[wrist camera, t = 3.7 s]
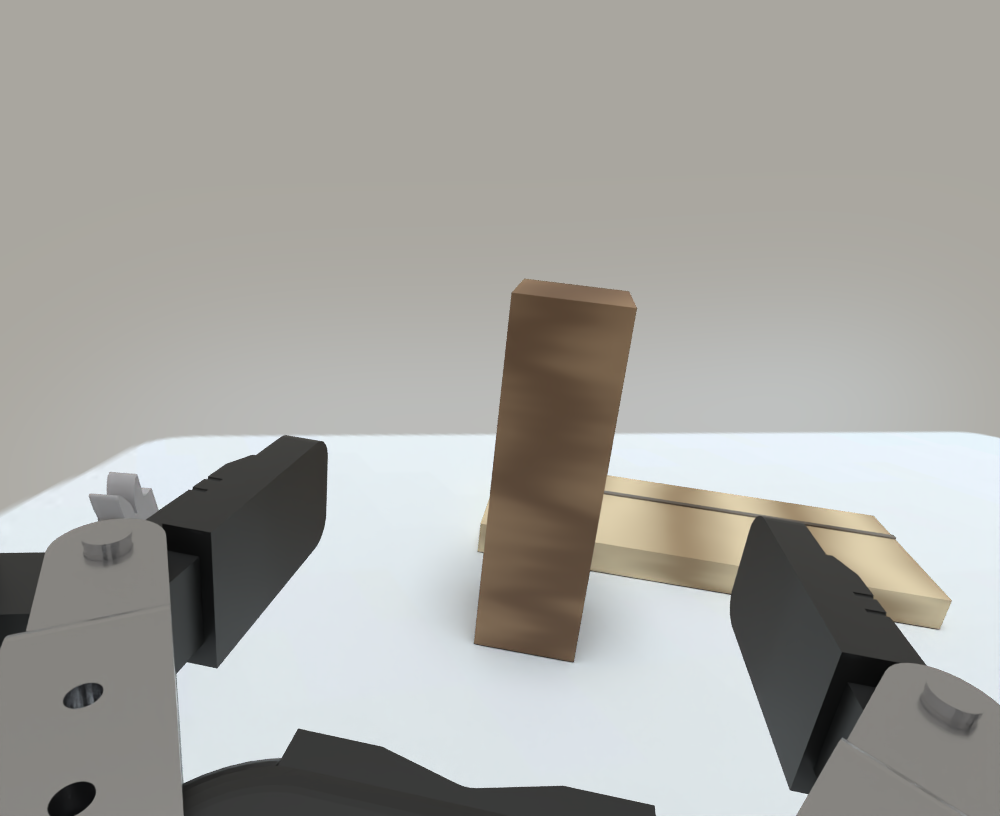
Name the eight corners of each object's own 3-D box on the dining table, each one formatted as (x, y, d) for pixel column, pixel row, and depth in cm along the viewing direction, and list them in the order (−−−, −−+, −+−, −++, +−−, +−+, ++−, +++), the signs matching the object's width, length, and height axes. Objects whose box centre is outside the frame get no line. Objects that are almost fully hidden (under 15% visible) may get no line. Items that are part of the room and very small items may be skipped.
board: (865, 539, 35) (874, 514, 35) (939, 629, 28) (952, 598, 27) (500, 482, 37) (502, 457, 37) (477, 551, 30) (480, 521, 29)
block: (578, 506, 36) (617, 268, 31) (573, 661, 23) (636, 308, 19) (512, 495, 36) (541, 259, 31) (473, 643, 24) (511, 292, 19)
